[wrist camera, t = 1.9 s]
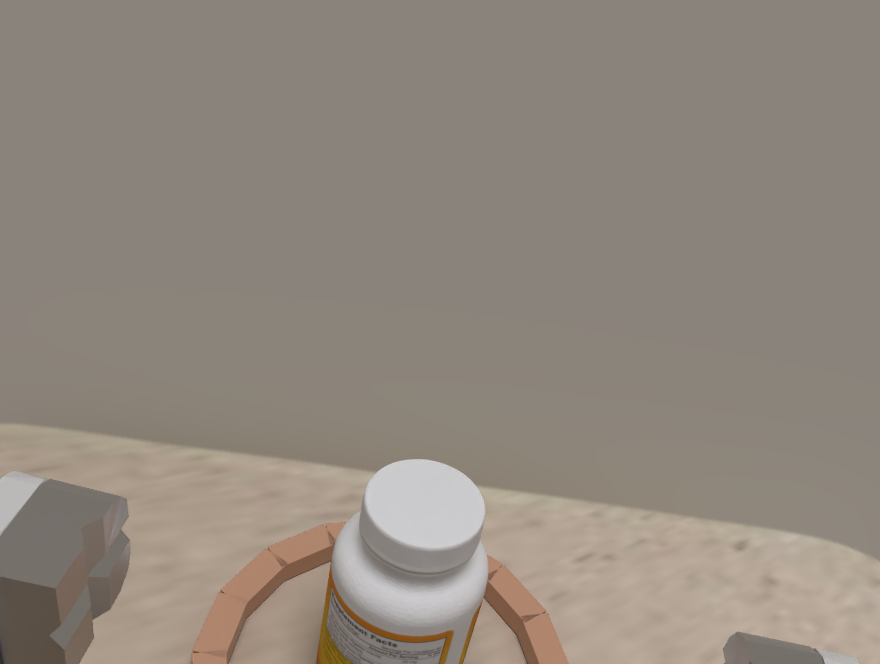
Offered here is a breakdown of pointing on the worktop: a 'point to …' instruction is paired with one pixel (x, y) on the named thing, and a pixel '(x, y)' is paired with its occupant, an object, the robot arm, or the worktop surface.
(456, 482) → the supplement bottle
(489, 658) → the worktop surface
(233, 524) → the worktop surface
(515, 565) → the worktop surface
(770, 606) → the worktop surface
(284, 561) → the segmented terracotta ring
